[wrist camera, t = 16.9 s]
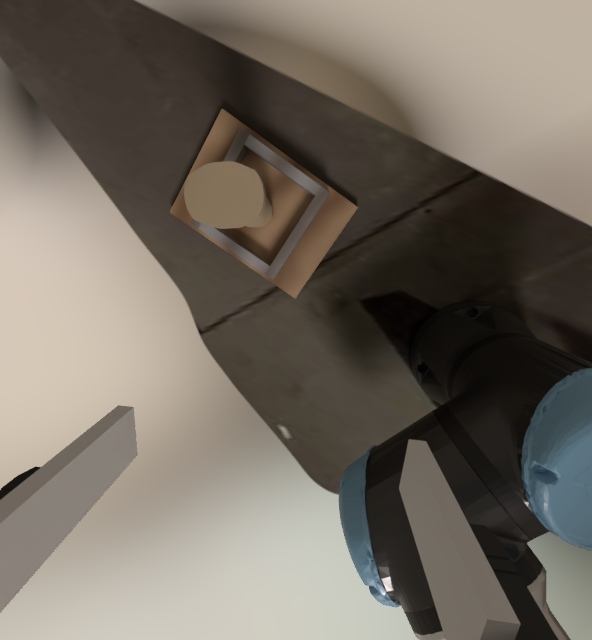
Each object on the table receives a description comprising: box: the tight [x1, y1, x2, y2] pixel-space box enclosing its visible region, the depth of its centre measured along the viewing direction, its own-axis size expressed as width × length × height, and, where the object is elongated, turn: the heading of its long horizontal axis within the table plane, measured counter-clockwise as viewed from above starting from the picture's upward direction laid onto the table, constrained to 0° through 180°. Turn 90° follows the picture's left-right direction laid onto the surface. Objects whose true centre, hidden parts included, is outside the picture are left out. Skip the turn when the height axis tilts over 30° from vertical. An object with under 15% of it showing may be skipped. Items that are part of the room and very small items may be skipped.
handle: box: [184, 161, 273, 229], centre depth 30 cm, size 5×6×15 cm
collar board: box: [170, 109, 358, 298], centre depth 37 cm, size 20×14×3 cm
